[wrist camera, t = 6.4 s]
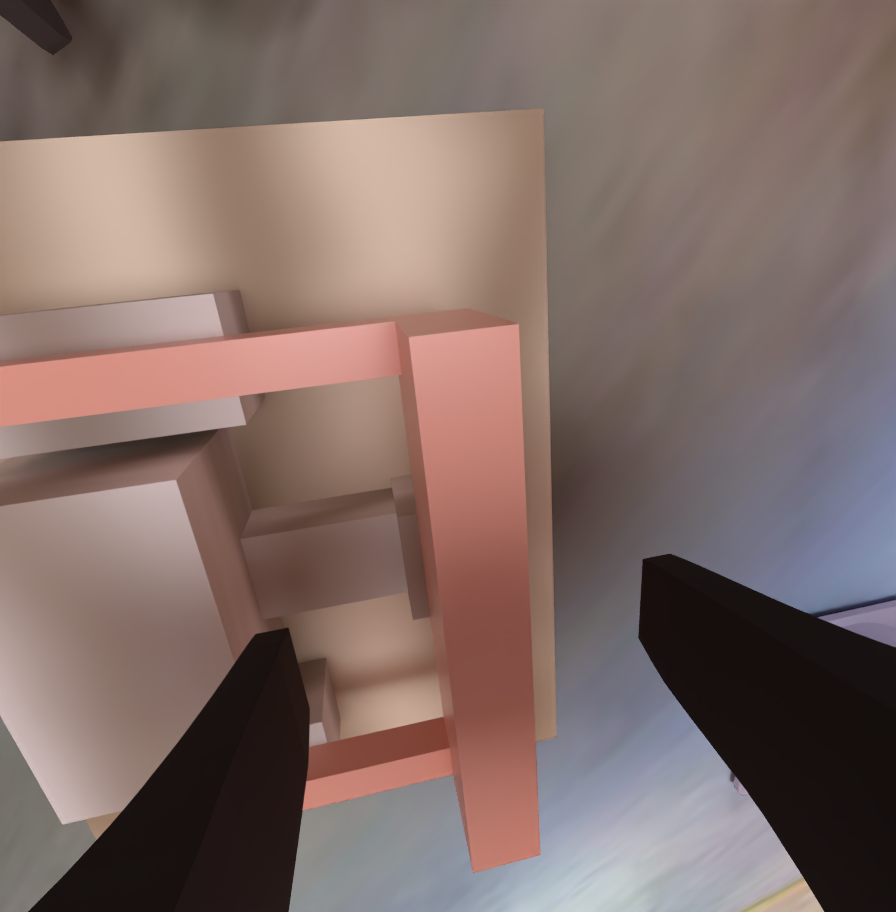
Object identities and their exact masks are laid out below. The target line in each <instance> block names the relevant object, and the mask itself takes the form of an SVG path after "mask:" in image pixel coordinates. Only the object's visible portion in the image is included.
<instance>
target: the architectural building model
mask: <svg viewBox="0 0 896 912" xmlns="http://www.w3.org/2000/svg"><path fill="white" fill-rule="evenodd" d="M464 308H469V309H472V310H476V311H479V312H482V313H485V314H489V315H492V316H495V317H498V318H501V319H505V320H508V321H511V322H514V323H517V324H519V341H520V366H521V391H522V415H523V440H524V465H525V489H526V514H527V539H528V563H529V588H530V613H531V638H532V662H533V687H534V712H535V736H536V742H539V741H543V740H547V739H551V738H555V737H557V732H556V684H555V636H554V588H553V540H552V492H551V444H550V396H549V348H548V300H547V252H546V204H545V156H544V108H540V109H524V110H508V111H491V112H475V113H459V114H443V115H426V116H410V117H394V118H377V119H361V120H345V121H328V122H312V123H296V124H279V125H263V126H247V127H230V128H214V129H198V130H182V131H165V132H149V133H133V134H116V135H100V136H84V137H67V138H51V139H35V140H18V141H2V142H0V361H6V360H15V359H24V358H33V357H42V356H50V355H59V354H68V353H77V352H86V351H95V350H103V349H112V348H121V347H130V346H139V345H147V344H156V343H165V342H174V341H183V340H191V339H200V338H209V337H218V336H227V335H235V334H244V333H253V332H262V331H271V330H279V329H288V328H297V327H306V326H315V325H323V324H332V323H341V322H350V321H359V320H367V319H376V318H385V317H394V316H403V315H411V314H420V313H429V312H438V311H447V310H455V309H464ZM288 627H289V631H290V635H291V639H292V642H293V646H294V650H295V654H296V658H297V661H298V665H299V669H300V673H301V677H302V680H303V684H304V688H305V692H306V696H307V699H308V703H309V707H310V731H309V747H311V746H315V745H320V744H324V743H329V742H333V741H338V740H342V739H347V738H351V737H356V736H360V735H364V734H369V733H373V732H378V731H382V730H387V729H391V728H396V727H400V726H404V725H409V724H413V723H418V722H422V721H427V720H431V719H436V718H440V717H443V710H442V702H441V694H440V687H439V679H438V672H437V664H436V656H435V649H434V641H433V633H432V626H431V618H430V610H429V603H428V595H427V588H426V580H425V572H424V565H423V557H422V549H421V542H420V534H419V526H418V519H417V511H416V504H415V496H414V488H413V481H412V473H411V465H410V458H409V450H408V442H407V435H406V427H405V419H404V412H403V404H402V397H401V389H400V381H399V375H397V376H390V377H382V378H374V379H367V380H359V381H351V382H343V383H336V384H328V385H320V386H313V387H305V388H297V389H289V390H282V391H274V392H266V393H259V394H251V395H243V396H235V397H228V398H220V399H212V400H205V401H197V402H189V403H181V404H174V405H166V406H158V407H151V408H143V409H135V410H127V411H120V412H112V413H104V414H97V415H89V416H81V417H73V418H66V419H58V420H50V421H43V422H35V423H27V424H19V425H12V426H4V427H0V716H1V718H2V719H3V721H4V723H5V725H6V726H7V728H8V730H9V732H10V733H11V735H12V737H13V739H14V740H15V742H16V744H17V746H18V747H19V749H20V751H21V753H22V754H23V756H24V758H25V760H26V761H27V763H28V765H29V767H30V768H31V770H32V772H33V774H34V775H35V777H36V779H37V781H38V782H39V784H40V786H41V788H42V789H43V791H44V793H45V795H46V796H47V798H48V800H49V802H50V803H51V805H52V807H53V809H54V810H55V812H56V814H57V816H58V817H59V819H60V821H61V823H62V824H67V823H71V822H76V821H80V820H84V819H85V820H86V822H87V824H88V826H89V827H90V829H91V831H92V833H93V835H94V837H95V838H96V840H97V839H98V838H99V837H100V836H101V835H102V833H103V832H104V831H105V830H106V829H107V828H108V827H109V826H110V825H111V823H112V822H113V821H114V820H115V819H116V818H117V816H118V815H119V814H120V813H121V812H122V811H123V809H124V808H125V807H126V806H127V805H128V804H129V802H130V801H131V800H132V799H133V798H134V796H135V795H136V794H137V793H138V792H139V790H140V789H141V788H142V787H143V785H144V784H145V783H146V782H147V780H148V779H149V778H150V777H151V775H152V774H153V773H154V772H155V770H156V769H157V768H158V767H159V765H160V764H161V763H162V761H163V760H164V759H165V758H166V756H167V755H168V754H169V753H170V751H171V750H172V749H173V748H174V746H175V745H176V744H177V743H178V741H179V740H180V739H181V737H182V736H183V735H184V733H185V732H186V731H187V729H188V728H189V726H190V725H191V724H192V722H193V721H194V720H195V718H196V717H197V715H198V714H199V713H200V711H201V710H202V709H203V707H204V706H205V705H206V703H207V702H208V700H209V699H210V698H211V696H212V695H213V693H214V692H215V691H216V689H217V688H218V686H219V685H220V683H221V682H222V681H223V679H224V678H225V676H226V675H227V673H228V672H229V671H230V669H231V668H232V666H233V665H234V663H235V662H236V660H237V659H238V657H239V656H240V654H241V653H242V652H243V650H244V649H245V647H246V646H247V644H248V643H249V642H250V640H251V639H252V638H253V636H254V635H255V634H257V633H263V632H268V631H273V630H278V629H283V628H288Z"/></svg>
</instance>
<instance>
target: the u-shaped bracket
mask: <svg viewBox="0 0 896 912" xmlns="http://www.w3.org/2000/svg"><path fill="white" fill-rule="evenodd" d="M397 375H399V381H400V389H401V397H402V404H403V412H404V419H405V427H406V435H407V442H408V450H409V458H410V465H411V473H412V481H413V488H414V496H415V504H416V511H417V519H418V526H419V534H420V542H421V549H422V557H423V565H424V572H425V580H426V588H427V595H428V603H429V610H430V618H431V626H432V633H433V641H434V649H435V656H436V664H437V672H438V679H439V687H440V694H441V702H442V710H443V717H440V718H436V719H431V720H427V721H422V722H418V723H413V724H409V725H404V726H400V727H396V728H391V729H387V730H382V731H378V732H373V733H369V734H364V735H360V736H356V737H351V738H347V739H342V740H338V741H333V742H329V743H324V744H320V745H315V746H311V747H309V764H308V772H307V780H306V788H305V795H304V803H303V810H307V809H311V808H316V807H320V806H324V805H328V804H332V803H336V802H340V801H345V800H349V799H353V798H357V797H361V796H365V795H369V794H374V793H378V792H382V791H386V790H390V789H394V788H399V787H403V786H407V785H411V784H415V783H419V782H423V781H428V780H432V779H436V778H440V777H444V776H448V775H452V774H453V776H454V781H455V786H456V791H457V796H458V801H459V806H460V811H461V816H462V821H463V826H464V831H465V836H466V840H467V845H468V850H469V855H470V860H471V865H472V870H473V873H475V872H479V871H482V870H486V869H490V868H494V867H497V866H501V865H505V864H508V863H512V862H516V861H520V860H523V859H527V858H531V857H534V856H538V855H540V835H539V810H538V786H537V761H536V736H535V712H534V687H533V662H532V638H531V613H530V588H529V563H528V539H527V514H526V489H525V465H524V440H523V415H522V391H521V366H520V341H519V324H517V323H514V322H511V321H508V320H505V319H501V318H498V317H495V316H492V315H489V314H485V313H482V312H479V311H476V310H472V309H469V308H464V309H455V310H447V311H438V312H429V313H420V314H411V315H403V316H394V317H385V318H376V319H367V320H359V321H350V322H341V323H332V324H323V325H315V326H306V327H297V328H288V329H279V330H271V331H262V332H253V333H244V334H235V335H227V336H218V337H209V338H200V339H191V340H183V341H174V342H165V343H156V344H147V345H139V346H130V347H121V348H112V349H103V350H95V351H86V352H77V353H68V354H59V355H50V356H42V357H33V358H24V359H15V360H6V361H0V427H4V426H12V425H19V424H27V423H35V422H43V421H50V420H58V419H66V418H73V417H81V416H89V415H97V414H104V413H112V412H120V411H127V410H135V409H143V408H151V407H158V406H166V405H174V404H181V403H189V402H197V401H205V400H212V399H220V398H228V397H235V396H243V395H251V394H259V393H266V392H274V391H282V390H289V389H297V388H305V387H313V386H320V385H328V384H336V383H343V382H351V381H359V380H367V379H374V378H382V377H390V376H397ZM303 810H302V811H303Z"/></svg>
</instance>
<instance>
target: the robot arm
mask: <svg viewBox="0 0 896 912" xmlns="http://www.w3.org/2000/svg"><path fill="white" fill-rule="evenodd" d="M638 638H639V640H640V641H641V643H642V645H643V647H644V648H645V650H646V652H647V654H648V656H649V657H650V659H651V661H652V663H653V664H654V666H655V668H656V669H657V671H658V673H659V674H660V676H661V678H662V679H663V681H664V683H665V684H666V685H667V687H668V688H669V689H670V691H671V692H672V694H673V695H674V696H675V698H676V699H677V700H678V702H679V703H680V704H681V706H682V707H683V708H684V710H685V711H686V712H687V713H688V715H689V716H690V717H691V719H692V720H693V721H694V723H695V724H696V725H697V727H698V728H699V729H700V731H701V732H702V733H703V735H704V736H705V737H706V738H707V740H708V741H709V742H710V744H711V745H712V746H713V748H714V749H715V750H716V752H717V753H718V754H719V755H720V757H721V758H722V759H723V761H724V762H725V763H726V765H727V766H728V767H729V769H730V770H731V771H732V772H733V774H734V775H735V779H734V787H735V789H736V790H737V791H738V793H739V794H740V795H744V796H745V795H750V797H751V798H752V799H753V801H754V802H755V804H756V805H757V806H758V808H759V809H760V811H761V812H762V813H763V815H764V816H765V818H766V819H767V821H768V823H769V824H770V826H771V827H772V829H773V830H774V832H775V834H776V835H777V837H778V838H779V840H780V841H781V843H782V844H783V846H784V848H785V849H786V851H787V852H788V854H789V855H790V857H791V859H792V860H793V862H794V863H795V865H796V866H797V868H798V869H799V871H800V873H801V874H802V876H803V877H804V879H805V881H806V882H807V884H808V886H809V887H810V889H811V890H812V892H813V894H814V895H815V897H816V899H817V900H818V902H819V904H820V905H821V907H822V909H823V910H824V912H896V600H893V601H889V602H884V603H880V604H875V605H871V606H866V607H862V608H857V609H853V610H848V611H844V612H839V613H835V614H830V615H826V616H821V617H815V616H812V615H810V614H807V613H805V612H803V611H800V610H798V609H796V608H793V607H791V606H789V605H786V604H784V603H782V602H779V601H777V600H775V599H772V598H770V597H768V596H766V595H763V594H761V593H759V592H757V591H754V590H752V589H750V588H748V587H746V586H743V585H741V584H739V583H737V582H735V581H732V580H730V579H728V578H726V577H724V576H721V575H719V574H717V573H715V572H713V571H710V570H708V569H706V568H704V567H701V566H699V565H697V564H694V563H692V562H690V561H687V560H685V559H682V558H680V557H677V556H675V555H672V554H666V555H661V556H656V557H651V558H646V559H643V566H642V584H641V601H640V619H639V637H638ZM309 731H310V707H309V703H308V699H307V696H306V692H305V688H304V684H303V680H302V677H301V673H300V669H299V665H298V661H297V658H296V654H295V650H294V646H293V642H292V639H291V635H290V631H289V627H288V628H283V629H278V630H273V631H268V632H263V633H257V634H255V635H254V636H253V638H252V639H251V640H250V642H249V643H248V644H247V646H246V647H245V649H244V650H243V652H242V653H241V654H240V656H239V657H238V659H237V660H236V662H235V663H234V665H233V666H232V668H231V669H230V671H229V672H228V673H227V675H226V676H225V678H224V679H223V681H222V682H221V683H220V685H219V686H218V688H217V689H216V691H215V692H214V693H213V695H212V696H211V698H210V699H209V700H208V702H207V703H206V705H205V706H204V707H203V709H202V710H201V711H200V713H199V714H198V715H197V717H196V718H195V720H194V721H193V722H192V724H191V725H190V726H189V728H188V729H187V731H186V732H185V733H184V735H183V736H182V737H181V739H180V740H179V741H178V743H177V744H176V745H175V746H174V748H173V749H172V750H171V751H170V753H169V754H168V755H167V756H166V758H165V759H164V760H163V761H162V763H161V764H160V765H159V767H158V768H157V769H156V770H155V772H154V773H153V774H152V775H151V777H150V778H149V779H148V780H147V782H146V783H145V784H144V785H143V787H142V788H141V789H140V790H139V792H138V793H137V794H136V795H135V796H134V798H133V799H132V800H131V801H130V802H129V804H128V805H127V806H126V807H125V808H124V809H123V811H122V812H121V813H120V814H119V815H118V816H117V818H116V819H115V820H114V821H113V822H112V823H111V825H110V826H109V827H108V828H107V829H106V830H105V831H104V832H103V833H102V835H101V836H100V837H99V838H98V839H97V840H96V841H95V842H94V843H93V845H92V846H91V847H90V848H89V849H88V850H87V851H86V852H85V853H84V854H83V856H82V857H81V858H80V859H79V860H78V861H77V862H76V863H75V864H74V865H73V866H72V867H71V869H70V870H69V871H68V872H67V873H66V874H65V875H64V876H63V877H62V878H61V879H60V880H59V881H58V882H57V883H56V884H55V885H54V886H53V887H52V888H51V889H50V890H49V891H48V892H47V893H46V894H45V895H44V896H43V897H42V898H41V899H40V900H39V901H38V902H37V903H36V904H35V905H34V906H33V907H32V908H31V909H30V910H29V911H28V912H289V904H290V897H291V890H292V883H293V875H294V868H295V861H296V854H297V847H298V839H299V832H300V825H301V818H302V810H303V803H304V795H305V788H306V780H307V772H308V764H309Z"/></svg>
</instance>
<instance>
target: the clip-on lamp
mask: <svg viewBox="0 0 896 912" xmlns="http://www.w3.org/2000/svg"><path fill="white" fill-rule="evenodd" d="M0 15H1V16H2V17H4V18H5V19H6V20H7V21H9V22H10V23H11V24H12V25H14V26H15V27H16V28H17V29H19V30H20V31H21V32H22V33H24V34H25V35H26V36H27V37H29V38H30V39H31V40H32V41H34V42H35V43H36V44H37V45H39V46H40V47H41V48H43V49H44V50H46V51H47V52H49V53H51V54H52V55H54V54H55V53H56V52H58V51H59V50H61V49H62V48H63V47H65V46H66V45H67V44H69V43H70V42H71V40H72V36H71V35H70V33H69V31H68V29H67V27H66V26H65V24H64V22H63V20H62V19H61V17H60V15H59V14H58V12H57V10H56V9H55V7H54V5H53V4H52V2H51V0H0Z"/></svg>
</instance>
